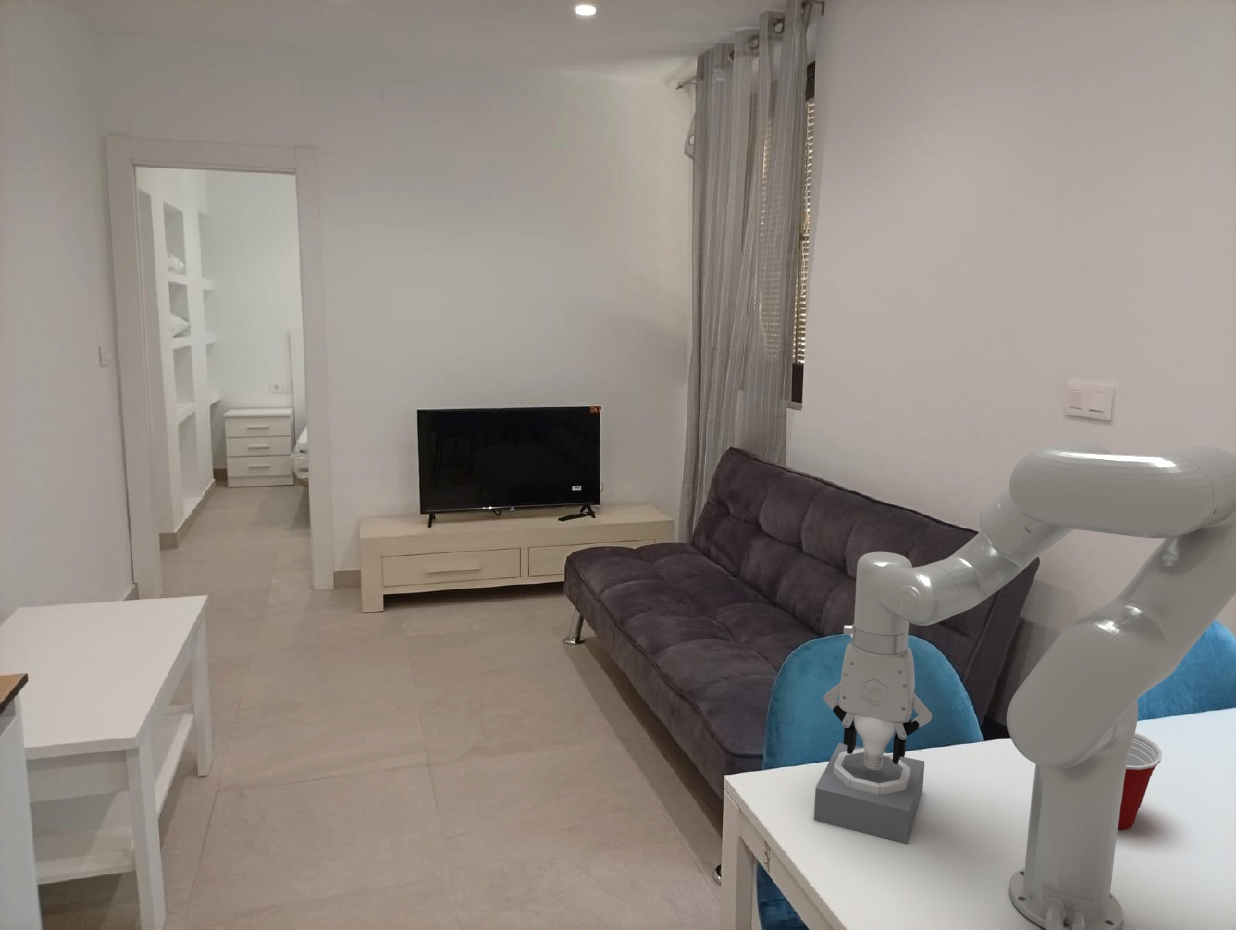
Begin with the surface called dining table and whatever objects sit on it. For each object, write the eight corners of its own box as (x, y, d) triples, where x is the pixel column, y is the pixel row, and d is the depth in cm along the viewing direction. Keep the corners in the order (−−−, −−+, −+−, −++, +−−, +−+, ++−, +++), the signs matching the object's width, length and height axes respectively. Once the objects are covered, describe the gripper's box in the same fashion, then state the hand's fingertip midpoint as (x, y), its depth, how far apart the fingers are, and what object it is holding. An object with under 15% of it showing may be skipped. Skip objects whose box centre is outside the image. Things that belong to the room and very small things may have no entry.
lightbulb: (894, 762, 134) (899, 693, 132) (895, 783, 128) (900, 712, 126) (850, 755, 135) (855, 688, 133) (849, 777, 129) (854, 706, 127)
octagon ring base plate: (906, 843, 123) (909, 803, 122) (813, 819, 129) (815, 780, 128) (924, 782, 139) (927, 745, 138) (841, 762, 145) (843, 727, 144)
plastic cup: (1057, 819, 129) (1065, 742, 127) (1082, 790, 137) (1090, 718, 135) (1140, 851, 122) (1150, 771, 120) (1162, 819, 129) (1172, 743, 127)
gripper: (814, 637, 128) (809, 753, 131) (940, 658, 121) (931, 780, 124) (826, 621, 135) (821, 731, 138) (946, 639, 127) (938, 756, 131)
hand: (873, 753), depth 131 cm, fingers closed on lightbulb, 5 cm apart
